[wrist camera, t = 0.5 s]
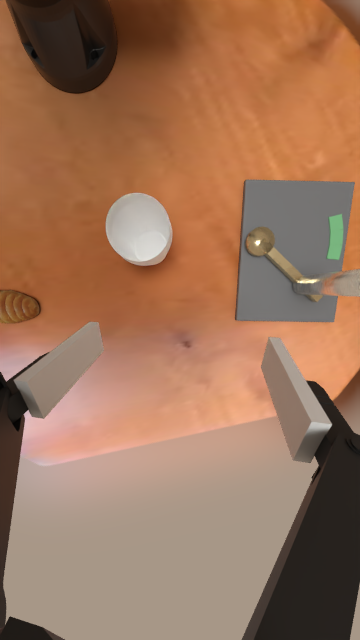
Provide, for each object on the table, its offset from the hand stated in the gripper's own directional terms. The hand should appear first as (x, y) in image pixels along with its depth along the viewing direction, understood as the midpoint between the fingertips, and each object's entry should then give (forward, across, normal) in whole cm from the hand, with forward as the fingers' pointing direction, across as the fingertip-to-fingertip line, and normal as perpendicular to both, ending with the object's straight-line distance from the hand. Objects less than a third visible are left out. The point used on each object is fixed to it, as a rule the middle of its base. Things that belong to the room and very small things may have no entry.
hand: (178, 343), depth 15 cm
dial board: (+30, +17, +3) cm, 35 cm away
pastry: (+18, -37, -7) cm, 42 cm away
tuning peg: (+28, +16, +1) cm, 32 cm away
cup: (+26, -10, +4) cm, 28 cm away
